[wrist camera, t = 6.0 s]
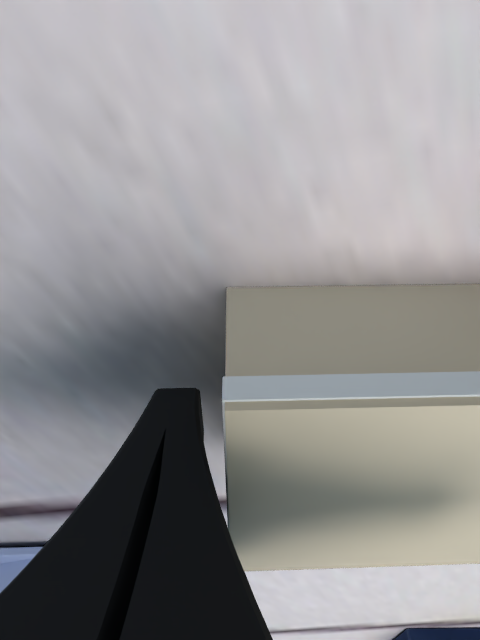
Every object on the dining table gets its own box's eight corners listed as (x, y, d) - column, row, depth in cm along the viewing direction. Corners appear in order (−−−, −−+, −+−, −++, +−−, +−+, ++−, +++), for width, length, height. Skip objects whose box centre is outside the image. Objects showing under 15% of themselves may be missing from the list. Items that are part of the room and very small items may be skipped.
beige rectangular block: (229, 440, 13) (229, 572, 10) (224, 285, 9) (221, 409, 6) (474, 434, 14) (566, 561, 10) (570, 280, 10) (786, 396, 6)
